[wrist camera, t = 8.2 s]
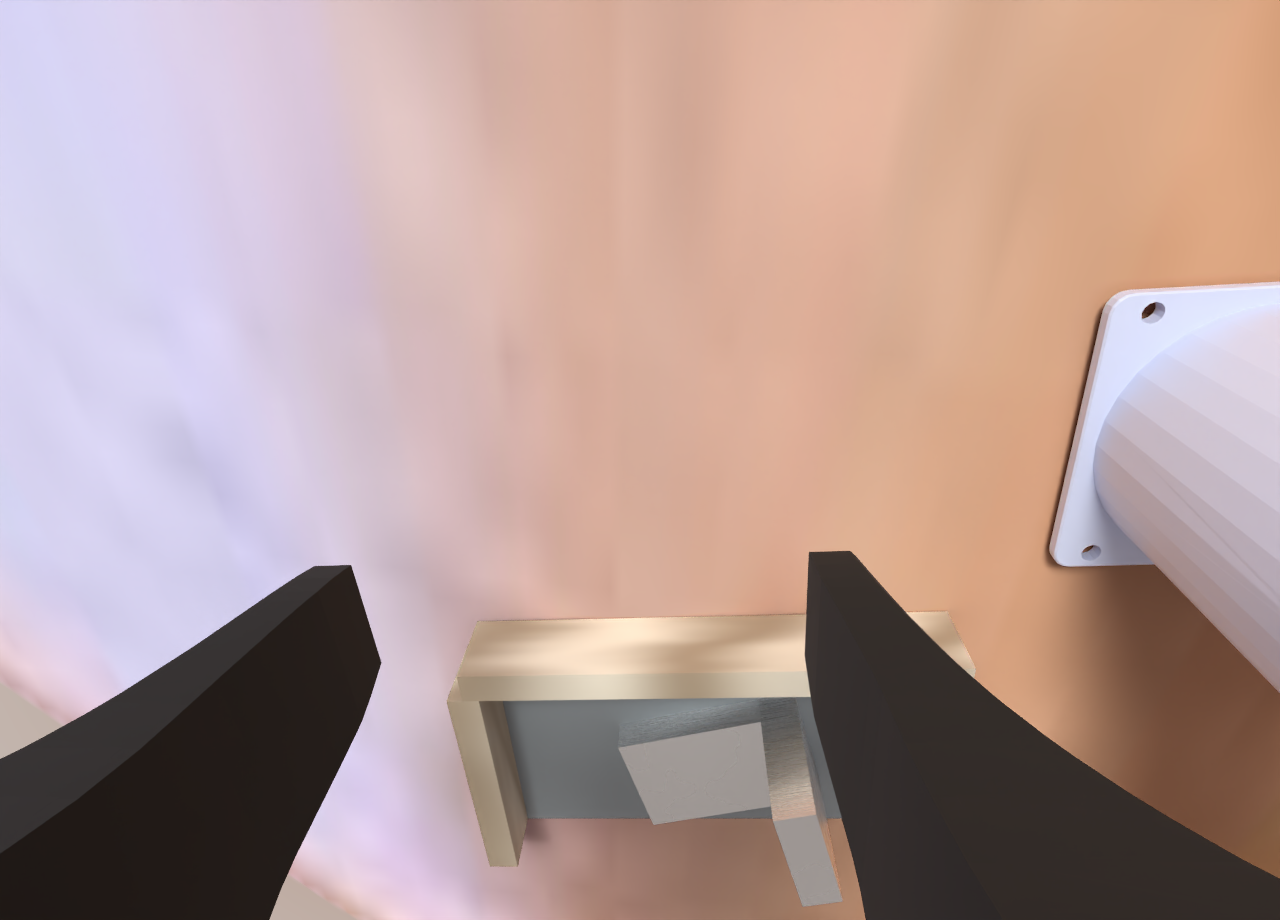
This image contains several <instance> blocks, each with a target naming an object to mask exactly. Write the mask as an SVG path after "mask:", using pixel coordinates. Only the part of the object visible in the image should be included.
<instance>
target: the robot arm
mask: <svg viewBox="0 0 1280 920" xmlns="http://www.w3.org/2000/svg"><path fill="white" fill-rule="evenodd" d="M1154 302H1156V308H1155V310H1154V312H1153V313H1152V314H1151V315H1150V316H1149V317H1147V318H1143V319H1142V312H1143V310H1144V308H1145V307H1147V306H1148V305H1149V304H1151V303H1154ZM1091 545H1094V546H1093V548H1092V549H1091V550H1089V551H1088V552H1083V553H1082V551H1083V550H1084V549H1085V548H1086V547H1088V546H1091ZM1049 552H1050V554H1051V556H1052V557H1053V558H1054V560H1055V561H1056V562H1057V563H1058V564H1060V565H1062V566H1067V567H1076V566H1115V565H1153V564H1155V565H1156V566H1157V567H1158V568H1159V569H1160V570H1161V571H1162V572H1163V573H1164V574H1165V575H1166V577H1167V578H1168V579H1169V580H1170V581H1171V582H1172V583H1173V584H1174V585H1175V586H1176V587H1177V588H1178V589H1179V590H1180V591H1181V592H1182V593H1183V594H1184V595H1185V596H1186V597H1187V598H1188V599H1189V600H1190V601H1191V602H1192V603H1193V604H1194V605H1195V606H1196V607H1197V608H1198V609H1199V610H1200V612H1201V613H1202V614H1203V615H1204V616H1205V617H1206V618H1207V619H1208V620H1209V621H1210V622H1211V623H1212V624H1213V625H1214V626H1215V627H1216V628H1217V629H1218V630H1219V631H1220V632H1221V633H1222V634H1223V635H1224V636H1225V637H1226V638H1227V639H1228V640H1229V641H1230V642H1231V643H1232V644H1233V645H1234V647H1235V648H1236V649H1237V650H1238V651H1239V652H1240V653H1241V654H1242V655H1243V656H1244V657H1245V658H1246V659H1247V660H1248V661H1249V662H1250V663H1251V664H1252V665H1253V666H1254V667H1255V668H1256V669H1257V670H1258V671H1259V672H1260V673H1261V674H1262V675H1263V676H1264V677H1265V678H1266V679H1267V680H1268V681H1269V683H1270V684H1271V685H1272V686H1273V687H1274V688H1275V689H1276V690H1277V691H1278V692H1279V693H1280V282H1263V283H1245V284H1227V285H1208V286H1190V287H1172V288H1153V289H1135V290H1126V291H1122V292H1119V293H1117V294H1116V295H1114V296H1112V297H1111V298H1110V300H1109V301H1108V302H1107V303H1106V304H1105V307H1104V309H1103V312H1102V316H1101V321H1100V325H1099V329H1098V334H1097V338H1096V343H1095V347H1094V352H1093V356H1092V360H1091V365H1090V369H1089V374H1088V378H1087V383H1086V387H1085V391H1084V396H1083V400H1082V405H1081V409H1080V414H1079V418H1078V422H1077V427H1076V431H1075V436H1074V440H1073V445H1072V449H1071V453H1070V458H1069V462H1068V467H1067V471H1066V476H1065V480H1064V484H1063V489H1062V493H1061V498H1060V502H1059V507H1058V511H1057V515H1056V520H1055V524H1054V529H1053V533H1052V538H1051V542H1050V546H1049ZM805 662H806V669H807V675H808V682H809V689H810V695H811V701H812V708H813V714H814V719H815V722H816V726H817V730H818V734H819V737H820V741H821V745H822V748H823V752H824V756H825V759H826V763H827V767H828V770H829V774H830V777H831V781H832V785H833V788H834V792H835V795H836V799H837V803H838V806H839V810H840V813H841V817H842V821H843V824H844V828H845V831H846V835H847V839H848V842H849V846H850V849H851V853H852V857H853V861H854V865H855V869H856V873H857V878H858V882H859V886H860V891H861V896H862V901H863V907H864V912H865V918H866V920H1280V879H1279V878H1277V877H1275V876H1273V875H1271V874H1269V873H1267V872H1265V871H1264V870H1262V869H1260V868H1258V867H1256V866H1254V865H1252V864H1250V863H1248V862H1246V861H1244V860H1242V859H1241V858H1239V857H1237V856H1235V855H1233V854H1232V853H1230V852H1228V851H1226V850H1224V849H1223V848H1221V847H1219V846H1218V845H1216V844H1214V843H1212V842H1211V841H1209V840H1207V839H1205V838H1204V837H1202V836H1200V835H1198V834H1197V833H1195V832H1193V831H1192V830H1190V829H1188V828H1186V827H1185V826H1183V825H1181V824H1179V823H1178V822H1176V821H1174V820H1172V819H1171V818H1169V817H1167V816H1166V815H1164V814H1162V813H1161V812H1159V811H1158V810H1156V809H1154V808H1153V807H1151V806H1149V805H1148V804H1146V803H1145V802H1143V801H1141V800H1140V799H1138V798H1136V797H1135V796H1133V795H1132V794H1130V793H1128V792H1127V791H1125V790H1124V789H1122V788H1121V787H1119V786H1118V785H1116V784H1115V783H1113V782H1112V781H1110V780H1109V779H1107V778H1106V777H1104V776H1103V775H1101V774H1100V773H1098V772H1097V771H1095V770H1094V769H1092V768H1091V767H1089V766H1088V765H1086V764H1085V763H1083V762H1082V761H1080V760H1079V759H1077V758H1076V757H1074V756H1073V755H1071V754H1070V753H1069V752H1067V751H1066V750H1064V749H1063V748H1062V747H1060V746H1059V745H1057V744H1056V743H1055V742H1053V741H1052V740H1050V739H1049V738H1048V737H1046V736H1045V735H1044V734H1042V733H1041V732H1040V731H1038V730H1037V729H1036V728H1034V727H1033V726H1032V725H1031V724H1029V723H1028V722H1027V721H1025V720H1024V719H1023V718H1022V717H1020V716H1019V715H1018V714H1016V713H1015V712H1014V711H1012V710H1011V709H1010V708H1009V707H1007V706H1006V705H1005V704H1003V703H1002V702H1001V701H1000V700H999V699H997V698H996V697H995V696H994V695H992V694H991V693H990V692H989V691H988V690H987V689H985V688H984V687H983V686H982V685H981V684H980V683H979V682H977V681H976V680H975V679H974V678H973V677H972V676H971V675H970V674H969V673H967V672H966V671H965V670H964V669H963V668H962V667H961V666H960V665H959V664H957V663H956V662H955V661H954V660H953V659H952V658H951V657H950V656H949V655H948V654H947V653H946V652H945V651H944V650H943V649H942V648H941V647H940V646H939V645H938V644H937V643H936V642H935V641H934V640H933V639H932V638H931V637H930V636H929V635H928V634H927V633H926V632H925V631H924V630H923V629H922V628H921V627H920V626H919V625H918V624H917V623H916V622H915V621H914V620H913V619H912V618H911V617H910V616H909V615H908V614H907V613H906V612H905V611H904V610H903V609H902V608H901V607H900V605H899V604H898V603H897V602H896V601H895V600H894V599H893V598H892V597H891V596H890V595H889V593H888V592H887V591H886V590H885V589H884V588H883V587H882V586H881V584H880V583H879V582H878V581H877V580H876V579H875V578H874V577H873V575H872V574H871V573H870V572H869V571H868V570H867V568H866V567H865V566H864V565H863V564H862V563H861V562H860V560H859V559H858V558H857V557H856V556H855V555H854V554H853V553H852V552H851V551H832V552H809V565H808V588H807V611H806V634H805ZM380 665H381V660H380V657H379V654H378V651H377V647H376V644H375V641H374V638H373V634H372V631H371V628H370V625H369V622H368V618H367V615H366V612H365V609H364V605H363V602H362V599H361V596H360V592H359V589H358V586H357V583H356V580H355V576H354V573H353V570H352V567H351V565H339V566H314V567H312V568H311V569H309V570H307V571H305V572H304V573H302V574H300V575H299V576H297V577H295V578H294V579H292V580H291V581H289V582H288V583H286V584H285V585H283V586H282V587H280V588H279V589H277V590H276V591H274V592H273V593H271V594H270V595H268V596H267V597H265V598H264V599H262V600H261V601H259V602H258V603H257V604H255V605H254V606H252V607H251V608H249V609H248V610H246V611H245V612H243V613H242V614H241V615H239V616H238V617H236V618H235V619H233V620H232V621H230V622H229V623H227V624H226V625H224V626H223V627H222V628H220V629H219V630H217V631H216V632H214V633H213V634H211V635H210V636H208V637H207V638H205V639H204V640H203V641H201V642H200V643H198V644H197V645H195V646H194V647H192V648H191V649H189V650H188V651H186V652H184V653H183V654H181V655H180V656H178V657H177V658H175V659H174V660H172V661H170V662H169V663H167V664H166V665H164V666H163V667H161V668H159V669H158V670H156V671H155V672H153V673H152V674H150V675H149V676H147V677H145V678H144V679H142V680H141V681H139V682H138V683H136V684H134V685H133V686H131V687H130V688H128V689H127V690H125V691H123V692H122V693H120V694H118V695H117V696H115V697H114V698H112V699H110V700H109V701H107V702H105V703H103V704H102V705H100V706H98V707H97V708H95V709H93V710H91V711H90V712H88V713H86V714H84V715H83V716H81V717H79V718H77V719H75V720H74V721H72V722H70V723H68V724H66V725H65V726H63V727H61V728H59V729H57V730H55V731H54V732H52V733H50V734H48V735H46V736H45V737H43V738H41V739H39V740H37V741H35V742H33V743H31V744H30V745H28V746H26V747H24V748H22V749H20V750H18V751H16V752H14V753H12V754H10V755H8V756H6V757H4V758H1V759H0V920H269V919H270V916H271V914H272V911H273V908H274V906H275V903H276V900H277V898H278V895H279V893H280V890H281V888H282V885H283V883H284V881H285V879H286V877H287V874H288V872H289V870H290V868H291V865H292V863H293V861H294V859H295V856H296V854H297V852H298V850H299V848H300V846H301V844H302V842H303V840H304V838H305V836H306V834H307V832H308V830H309V828H310V826H311V824H312V822H313V820H314V818H315V816H316V814H317V812H318V810H319V808H320V806H321V804H322V802H323V800H324V798H325V796H326V794H327V792H328V790H329V788H330V786H331V784H332V782H333V780H334V778H335V776H336V774H337V772H338V770H339V768H340V766H341V764H342V762H343V760H344V758H345V756H346V754H347V751H348V749H349V747H350V745H351V743H352V741H353V739H354V737H355V735H356V733H357V731H358V729H359V726H360V724H361V722H362V720H363V717H364V714H365V711H366V708H367V705H368V703H369V700H370V697H371V694H372V691H373V688H374V685H375V681H376V678H377V675H378V672H379V669H380Z"/></svg>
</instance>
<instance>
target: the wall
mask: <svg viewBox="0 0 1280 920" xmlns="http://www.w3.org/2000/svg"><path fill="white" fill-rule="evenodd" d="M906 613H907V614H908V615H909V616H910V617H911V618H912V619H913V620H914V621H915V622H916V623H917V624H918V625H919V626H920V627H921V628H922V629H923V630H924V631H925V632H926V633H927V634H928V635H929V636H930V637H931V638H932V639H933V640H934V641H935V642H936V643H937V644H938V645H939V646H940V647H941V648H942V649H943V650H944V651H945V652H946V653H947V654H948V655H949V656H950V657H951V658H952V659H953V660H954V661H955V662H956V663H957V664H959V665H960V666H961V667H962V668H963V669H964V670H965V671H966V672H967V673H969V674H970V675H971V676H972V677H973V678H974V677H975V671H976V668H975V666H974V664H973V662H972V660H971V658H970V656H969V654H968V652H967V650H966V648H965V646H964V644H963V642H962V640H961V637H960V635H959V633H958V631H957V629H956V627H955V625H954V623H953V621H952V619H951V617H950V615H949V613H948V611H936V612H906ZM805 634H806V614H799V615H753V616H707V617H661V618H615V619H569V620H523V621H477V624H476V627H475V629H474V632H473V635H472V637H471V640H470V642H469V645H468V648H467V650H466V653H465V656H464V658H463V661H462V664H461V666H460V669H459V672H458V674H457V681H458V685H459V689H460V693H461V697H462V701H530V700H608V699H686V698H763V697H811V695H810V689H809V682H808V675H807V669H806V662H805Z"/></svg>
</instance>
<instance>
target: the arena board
mask: <svg viewBox="0 0 1280 920" xmlns="http://www.w3.org/2000/svg"><path fill="white" fill-rule="evenodd" d="M752 699H757V698H686V699H608V700H530V701H503V705H504V710H505V715H506V719H507V724H508V729H509V733H510V738H511V742H512V747H513V752H514V756H515V761H516V766H517V770H518V775H519V780H520V784H521V789H522V794H523V798H524V803H525V807H526V812H527V817H528V818H650V816H649V814H648V812H647V810H646V808H645V805H644V803H643V801H642V799H641V797H640V795H639V792H638V790H637V788H636V786H635V784H634V781H633V779H632V777H631V775H630V773H629V771H628V768H627V766H626V764H625V762H624V760H623V758H622V755H621V753H620V751H619V749H618V743H619V732H620V724H623V723H629V722H634V721H639V720H645V719H650V718H655V717H661V716H666V715H671V714H677V713H682V712H688V711H693V710H698V709H704V708H709V707H714V706H720V705H725V704H730V703H736V702H741V701H746V700H752ZM796 700H797V703H798V707H799V710H800V714H801V717H802V720H803V724H804V727H805V731H806V734H807V737H808V741H809V744H810V748H811V751H812V754H813V758H814V761H815V765H816V768H817V771H818V776H819V781H820V786H821V791H822V796H823V801H824V806H825V812H826V817H827V818H842V817H841V813H840V810H839V806H838V803H837V799H836V795H835V792H834V788H833V785H832V781H831V777H830V774H829V770H828V767H827V763H826V759H825V756H824V752H823V748H822V745H821V741H820V737H819V734H818V730H817V726H816V722H815V719H814V714H813V708H812V701H811V697H796ZM701 818H772V810H771V806H770V807H764V808H757V809H751V810H745V811H738V812H732V813H726V814H720V815H713V816H707V817H701Z"/></svg>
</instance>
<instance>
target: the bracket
mask: <svg viewBox="0 0 1280 920" xmlns="http://www.w3.org/2000/svg"><path fill="white" fill-rule="evenodd" d="M618 749H619V751H620V753H621V755H622V758H623V760H624V762H625V764H626V766H627V768H628V771H629V773H630V775H631V777H632V779H633V781H634V784H635V786H636V788H637V790H638V792H639V795H640V797H641V799H642V801H643V803H644V805H645V808H646V810H647V812H648V814H649V816H650V818H651V821H652V823H653V825H657V824H663V823H669V822H676V821H682V820H688V819H694V818H701V817H707V816H713V815H720V814H726V813H732V812H738V811H745V810H751V809H757V808H764V807H770V806H771V810H772V818H773V823H774V826H775V829H776V832H777V835H778V837H779V840H780V843H781V846H782V849H783V852H784V855H785V857H786V860H787V863H788V866H789V869H790V872H791V875H792V878H793V880H794V883H795V886H796V889H797V892H798V895H799V898H800V900H801V903H802V906H803V907H805V906H813V905H820V904H828V903H835V902H843V899H842V894H841V889H840V884H839V878H838V873H837V868H836V863H835V858H834V853H833V848H832V842H831V837H830V832H829V827H828V822H827V817H826V812H825V806H824V801H823V796H822V791H821V786H820V781H819V776H818V771H817V768H816V765H815V761H814V758H813V754H812V751H811V748H810V744H809V741H808V737H807V734H806V731H805V727H804V724H803V720H802V717H801V714H800V710H799V707H798V703H797V700H796V697H763V698H757V699H752V700H746V701H741V702H736V703H730V704H725V705H720V706H714V707H709V708H704V709H698V710H693V711H688V712H682V713H677V714H671V715H666V716H661V717H655V718H650V719H645V720H639V721H634V722H629V723H623V724H620V732H619V743H618Z"/></svg>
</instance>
